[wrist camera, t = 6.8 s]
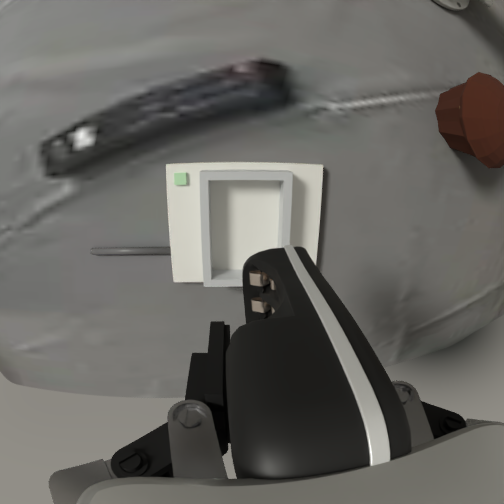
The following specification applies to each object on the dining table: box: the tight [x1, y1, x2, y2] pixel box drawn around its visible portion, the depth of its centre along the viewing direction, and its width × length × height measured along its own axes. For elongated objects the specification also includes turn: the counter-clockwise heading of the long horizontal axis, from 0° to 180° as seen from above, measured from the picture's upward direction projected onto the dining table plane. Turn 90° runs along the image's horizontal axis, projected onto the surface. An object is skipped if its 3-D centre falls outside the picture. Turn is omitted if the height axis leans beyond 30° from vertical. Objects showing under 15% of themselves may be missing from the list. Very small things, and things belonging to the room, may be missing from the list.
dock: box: [90, 162, 323, 287], centre depth 30 cm, size 26×13×4 cm, turn 89°
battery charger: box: [226, 245, 412, 480], centre depth 10 cm, size 7×4×11 cm, turn 4°
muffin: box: [435, 72, 504, 168], centre depth 24 cm, size 12×11×10 cm
